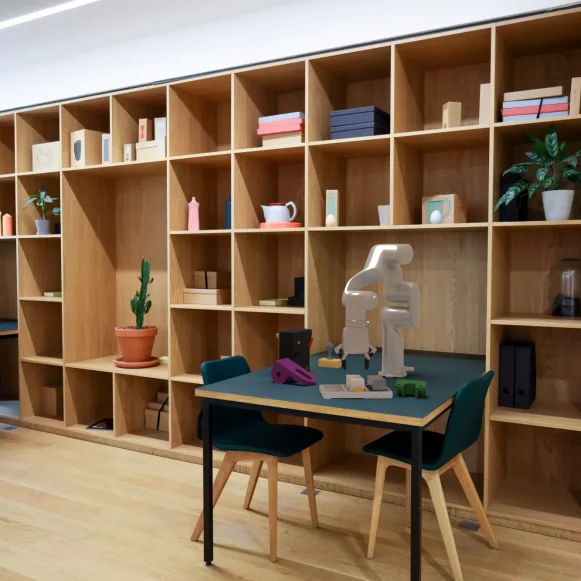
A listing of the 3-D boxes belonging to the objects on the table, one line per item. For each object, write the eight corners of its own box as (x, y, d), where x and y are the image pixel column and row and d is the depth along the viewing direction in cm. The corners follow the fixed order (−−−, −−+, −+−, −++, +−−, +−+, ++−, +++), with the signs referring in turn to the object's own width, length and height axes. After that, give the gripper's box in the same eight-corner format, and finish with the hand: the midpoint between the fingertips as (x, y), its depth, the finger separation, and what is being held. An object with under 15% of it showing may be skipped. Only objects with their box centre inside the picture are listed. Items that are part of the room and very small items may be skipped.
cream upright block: (346, 390, 245) (346, 374, 245) (358, 389, 245) (358, 374, 245) (351, 395, 235) (351, 379, 235) (364, 395, 236) (364, 379, 235)
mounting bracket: (312, 396, 264) (280, 374, 272) (319, 379, 262) (287, 357, 270) (300, 400, 256) (268, 377, 264) (308, 383, 253) (275, 360, 262)
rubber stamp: (318, 366, 302) (318, 342, 301) (323, 365, 307) (323, 341, 306) (336, 368, 297) (337, 343, 296) (341, 366, 302) (341, 342, 302)
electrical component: (294, 369, 292) (294, 327, 291) (313, 372, 287) (313, 329, 286) (274, 376, 277) (274, 331, 276) (294, 378, 272) (294, 333, 271)
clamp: (400, 407, 238) (390, 387, 237) (403, 400, 243) (393, 380, 242) (429, 398, 233) (419, 377, 232) (431, 391, 238) (421, 371, 237)
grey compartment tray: (383, 390, 248) (383, 374, 248) (392, 398, 234) (392, 381, 234) (319, 391, 246) (319, 374, 246) (324, 399, 232) (324, 381, 232)
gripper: (375, 323, 243) (375, 367, 244) (331, 323, 242) (331, 368, 243) (380, 325, 236) (379, 371, 237) (334, 325, 234) (334, 371, 235)
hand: (355, 369), depth 240 cm, fingers open, 7 cm apart
